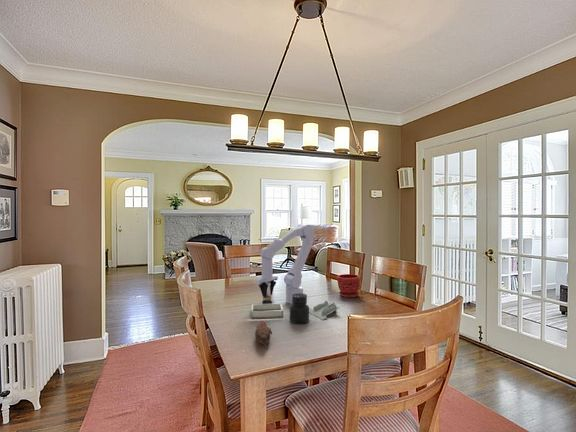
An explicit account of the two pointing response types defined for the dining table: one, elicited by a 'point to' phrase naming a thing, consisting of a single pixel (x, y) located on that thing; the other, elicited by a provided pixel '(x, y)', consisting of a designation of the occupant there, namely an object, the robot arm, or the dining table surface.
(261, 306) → the tray
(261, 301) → the socket base
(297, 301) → the ink bottle
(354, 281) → the plant pot
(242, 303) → the dining table surface
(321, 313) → the metal bracket
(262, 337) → the bird sculpture
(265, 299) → the silver rounded piece
